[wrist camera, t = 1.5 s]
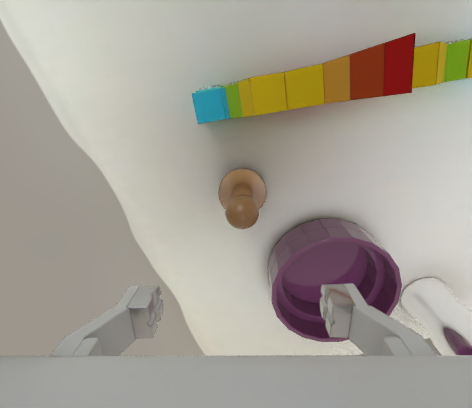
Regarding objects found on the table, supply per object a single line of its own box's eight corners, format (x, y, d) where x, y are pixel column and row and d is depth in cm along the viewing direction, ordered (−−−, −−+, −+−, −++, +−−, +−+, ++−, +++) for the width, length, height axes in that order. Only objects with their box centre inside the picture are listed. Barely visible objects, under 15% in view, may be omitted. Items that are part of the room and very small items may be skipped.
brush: (219, 165, 30) (208, 190, 21) (264, 164, 29) (273, 188, 21) (221, 208, 31) (213, 246, 23) (264, 207, 31) (272, 245, 23)
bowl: (268, 217, 32) (272, 239, 27) (384, 215, 31) (412, 236, 26) (267, 308, 37) (271, 342, 31) (368, 308, 36) (389, 341, 31)
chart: (513, 31, 24) (881, -73, 10) (506, 68, 25) (831, 21, 11) (198, 89, 27) (148, 70, 13) (204, 121, 28) (164, 136, 14)
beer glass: (395, 318, 36) (490, 450, 22) (398, 277, 34) (506, 396, 20) (447, 313, 36) (578, 446, 22) (454, 271, 34) (605, 389, 19)
